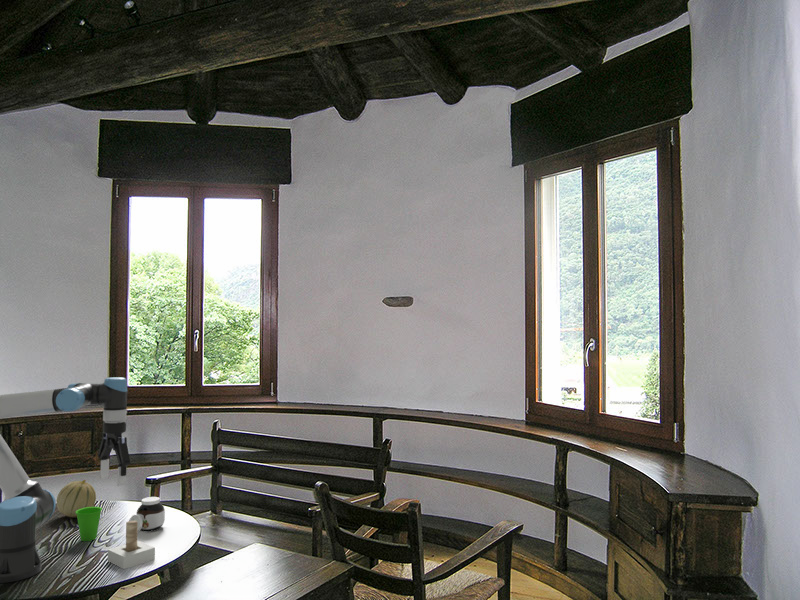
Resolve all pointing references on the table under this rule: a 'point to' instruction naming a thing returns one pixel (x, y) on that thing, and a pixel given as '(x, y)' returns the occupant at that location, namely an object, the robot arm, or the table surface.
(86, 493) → the cantaloupe
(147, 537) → the table surface
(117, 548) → the socket block
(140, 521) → the spread jar
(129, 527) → the peg
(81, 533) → the cup
